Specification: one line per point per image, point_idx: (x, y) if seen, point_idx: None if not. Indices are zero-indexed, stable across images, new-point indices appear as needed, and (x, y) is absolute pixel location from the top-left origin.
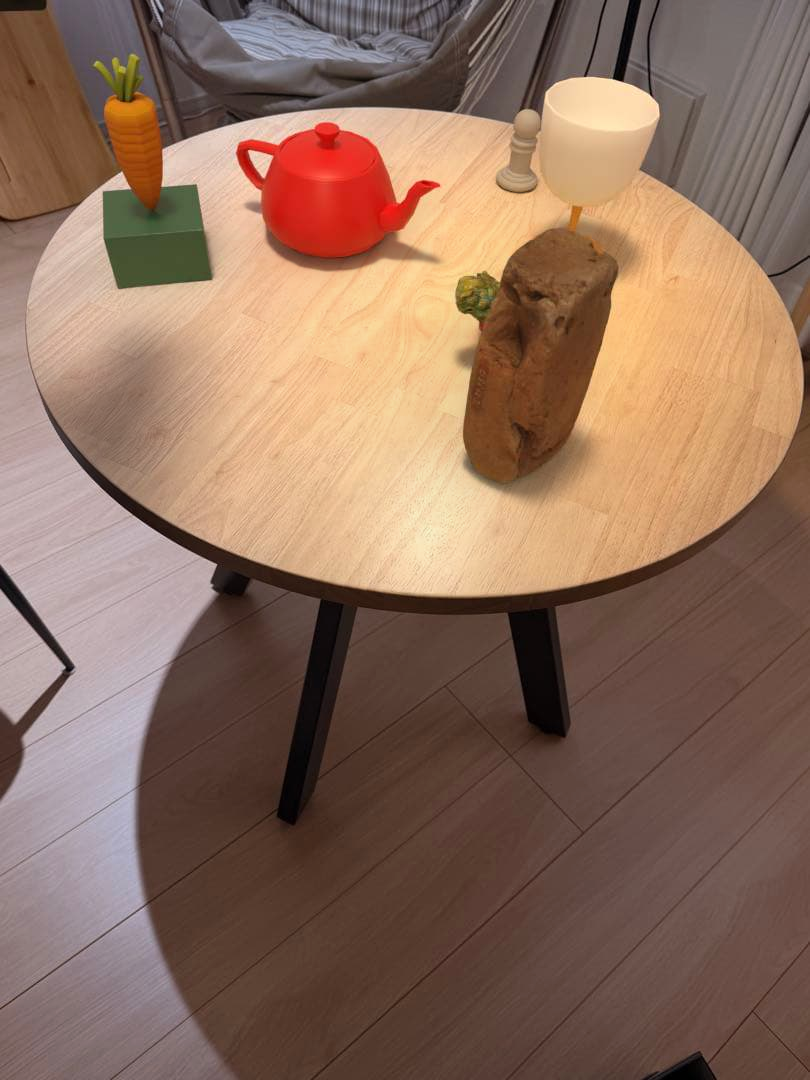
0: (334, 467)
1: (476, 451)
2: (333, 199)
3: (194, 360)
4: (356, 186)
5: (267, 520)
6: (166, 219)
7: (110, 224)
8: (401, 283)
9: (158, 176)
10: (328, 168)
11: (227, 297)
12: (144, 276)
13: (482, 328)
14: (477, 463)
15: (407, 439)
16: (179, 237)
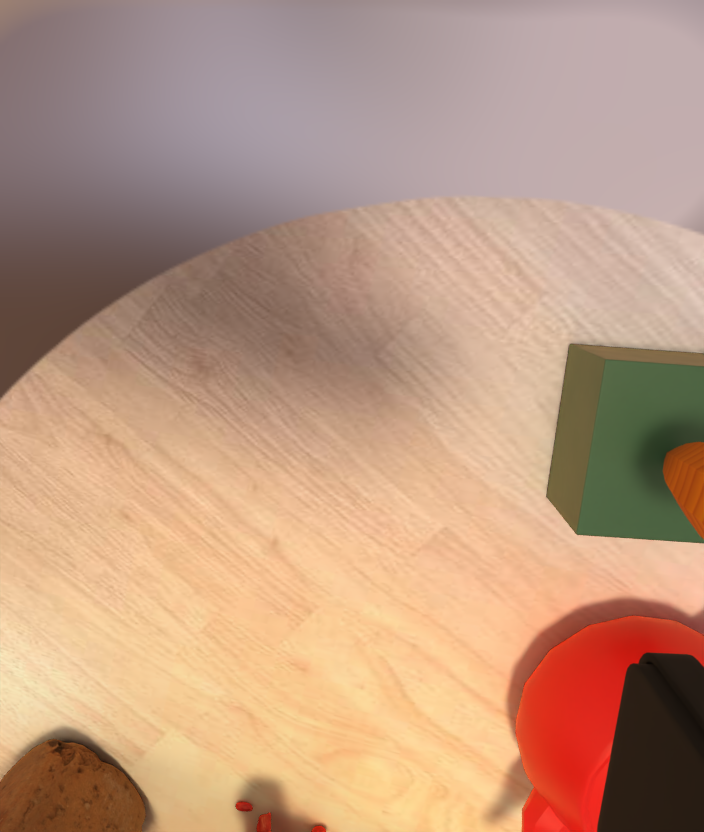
0: (91, 581)
1: (24, 765)
2: (561, 766)
3: (350, 440)
4: (572, 815)
5: (13, 483)
6: (630, 477)
7: (647, 376)
8: (451, 758)
9: (681, 508)
10: None
11: (491, 512)
12: (567, 396)
13: (312, 829)
14: (33, 752)
15: (125, 678)
16: (579, 488)
